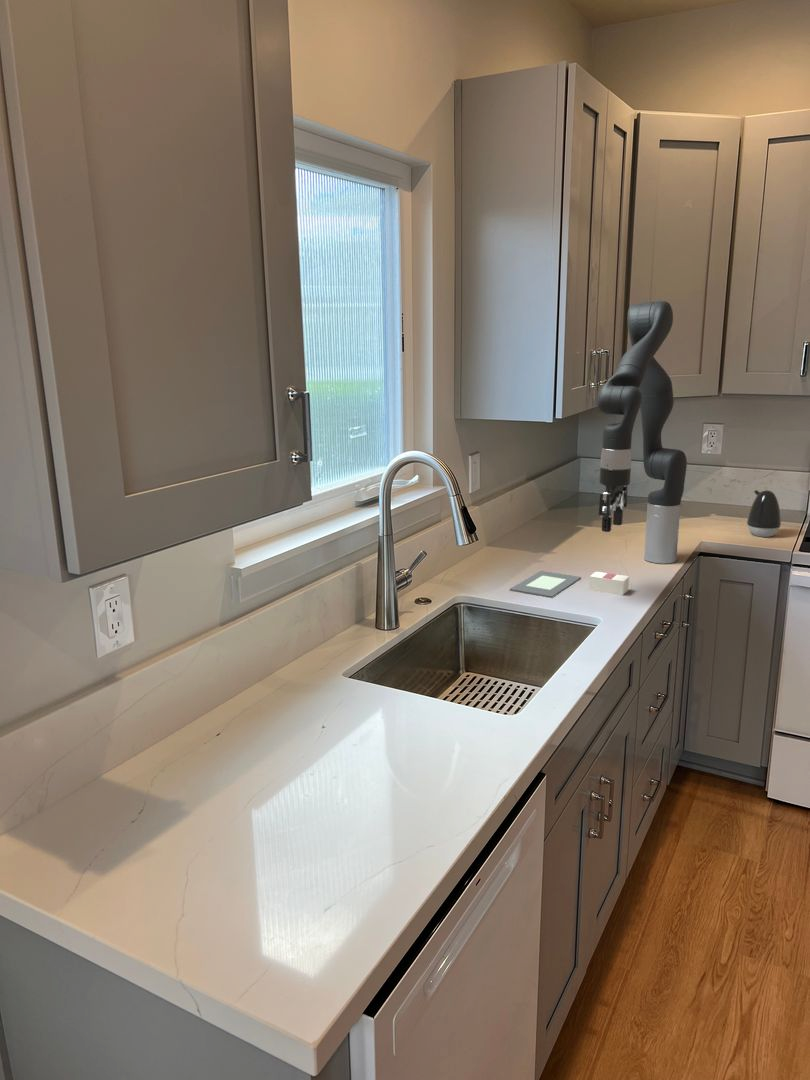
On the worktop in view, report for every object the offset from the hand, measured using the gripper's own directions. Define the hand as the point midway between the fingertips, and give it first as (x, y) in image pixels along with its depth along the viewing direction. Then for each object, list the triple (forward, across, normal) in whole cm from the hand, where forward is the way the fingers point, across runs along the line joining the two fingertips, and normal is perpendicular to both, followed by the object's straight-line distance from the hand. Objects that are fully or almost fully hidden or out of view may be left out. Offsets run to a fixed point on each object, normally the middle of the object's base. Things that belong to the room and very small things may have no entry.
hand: (611, 528), depth 206 cm
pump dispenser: (+16, -84, +23) cm, 89 cm away
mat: (+17, +4, -16) cm, 23 cm away
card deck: (+17, 0, 0) cm, 17 cm away
